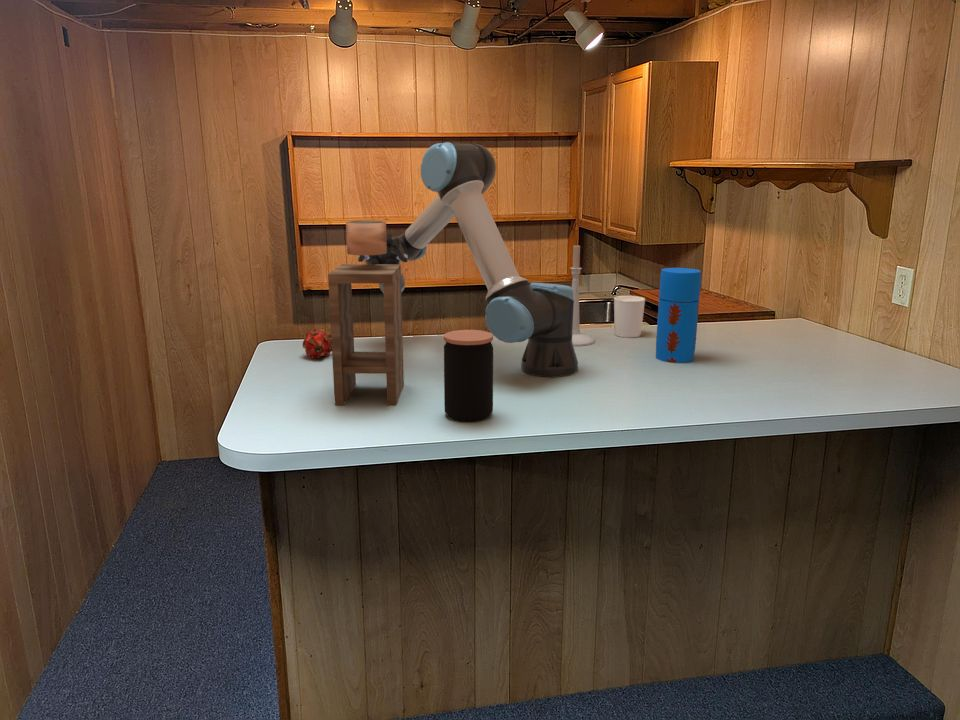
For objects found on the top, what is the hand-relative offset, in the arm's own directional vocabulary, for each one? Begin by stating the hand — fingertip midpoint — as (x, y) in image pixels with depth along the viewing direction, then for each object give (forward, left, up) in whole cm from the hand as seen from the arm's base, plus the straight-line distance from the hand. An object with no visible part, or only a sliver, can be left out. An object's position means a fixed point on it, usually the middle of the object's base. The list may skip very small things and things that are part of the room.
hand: (373, 230), depth 176 cm
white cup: (-31, -83, -38) cm, 96 cm away
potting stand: (-8, +11, -37) cm, 40 cm away
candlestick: (-21, -65, -38) cm, 78 cm away
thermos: (-54, -64, -38) cm, 92 cm away
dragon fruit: (+29, -6, -38) cm, 48 cm away
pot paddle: (-2, +2, -4) cm, 5 cm away
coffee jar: (-35, +9, -38) cm, 53 cm away
